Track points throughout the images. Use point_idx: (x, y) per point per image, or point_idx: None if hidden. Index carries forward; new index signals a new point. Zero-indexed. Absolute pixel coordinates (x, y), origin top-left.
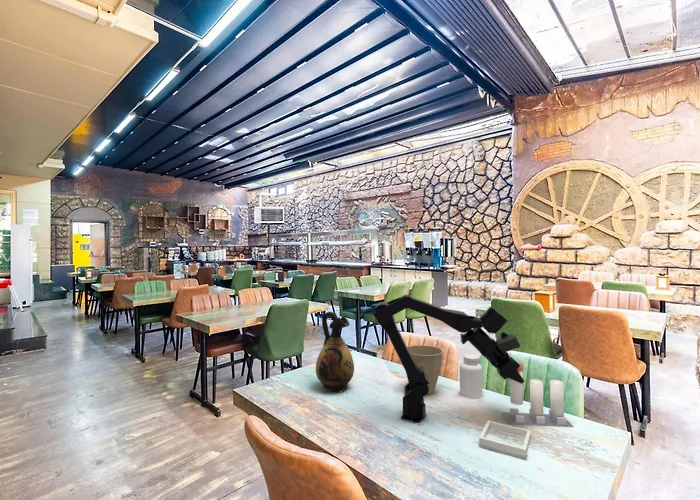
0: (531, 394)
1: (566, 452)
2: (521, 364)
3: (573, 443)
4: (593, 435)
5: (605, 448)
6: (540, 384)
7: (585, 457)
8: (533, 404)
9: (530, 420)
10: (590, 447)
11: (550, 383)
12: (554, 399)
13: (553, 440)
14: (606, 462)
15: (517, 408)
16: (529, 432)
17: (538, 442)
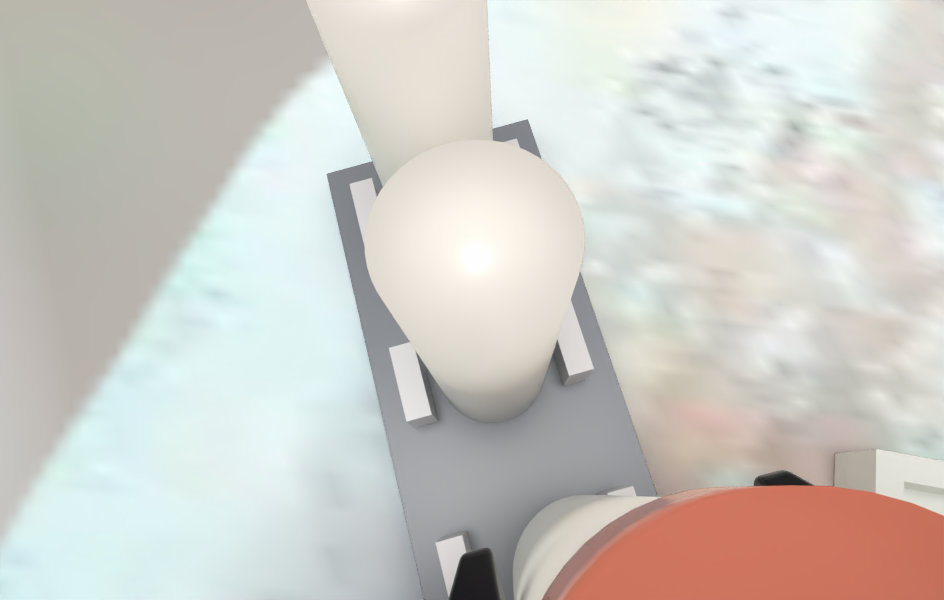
0: (526, 373)
1: (904, 226)
2: (768, 554)
3: (739, 166)
4: (553, 37)
5: (712, 6)
6: (565, 193)
7: (906, 127)
8: (543, 374)
9: (537, 427)
10: (744, 79)
11: (406, 58)
12: (480, 137)
13: (761, 287)
14: (901, 32)
15: (443, 543)
16: (923, 463)
17: (855, 398)
